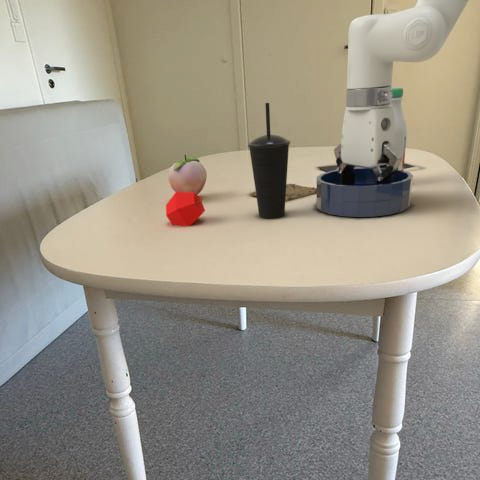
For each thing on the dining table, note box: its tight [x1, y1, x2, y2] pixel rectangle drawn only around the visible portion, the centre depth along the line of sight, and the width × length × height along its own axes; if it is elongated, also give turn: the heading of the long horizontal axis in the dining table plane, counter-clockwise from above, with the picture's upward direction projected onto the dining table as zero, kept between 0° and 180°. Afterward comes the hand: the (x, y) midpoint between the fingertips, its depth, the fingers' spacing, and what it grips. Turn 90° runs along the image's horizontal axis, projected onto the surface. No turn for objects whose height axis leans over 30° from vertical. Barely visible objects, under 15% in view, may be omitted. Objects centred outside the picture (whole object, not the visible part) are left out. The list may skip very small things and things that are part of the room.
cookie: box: [249, 183, 317, 203], centre depth 102 cm, size 12×12×1 cm
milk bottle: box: [390, 87, 408, 171], centre depth 97 cm, size 8×8×20 cm
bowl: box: [316, 168, 414, 218], centre depth 86 cm, size 18×18×6 cm
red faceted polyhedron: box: [165, 192, 206, 227], centre depth 85 cm, size 7×7×8 cm
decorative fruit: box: [167, 154, 208, 196], centre depth 102 cm, size 9×8×10 cm
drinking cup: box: [247, 102, 291, 220], centre depth 81 cm, size 8×8×20 cm
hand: (363, 197), depth 87 cm, fingers open, 9 cm apart
